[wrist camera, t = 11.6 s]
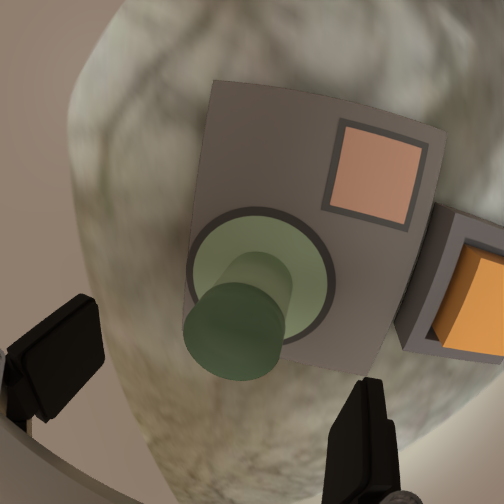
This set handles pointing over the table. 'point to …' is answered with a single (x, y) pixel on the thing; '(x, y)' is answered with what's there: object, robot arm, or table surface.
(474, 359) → the button housing
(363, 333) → the colouring board
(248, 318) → the green capped cylinder
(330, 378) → the table surface
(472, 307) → the button
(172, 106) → the table surface
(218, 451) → the table surface
